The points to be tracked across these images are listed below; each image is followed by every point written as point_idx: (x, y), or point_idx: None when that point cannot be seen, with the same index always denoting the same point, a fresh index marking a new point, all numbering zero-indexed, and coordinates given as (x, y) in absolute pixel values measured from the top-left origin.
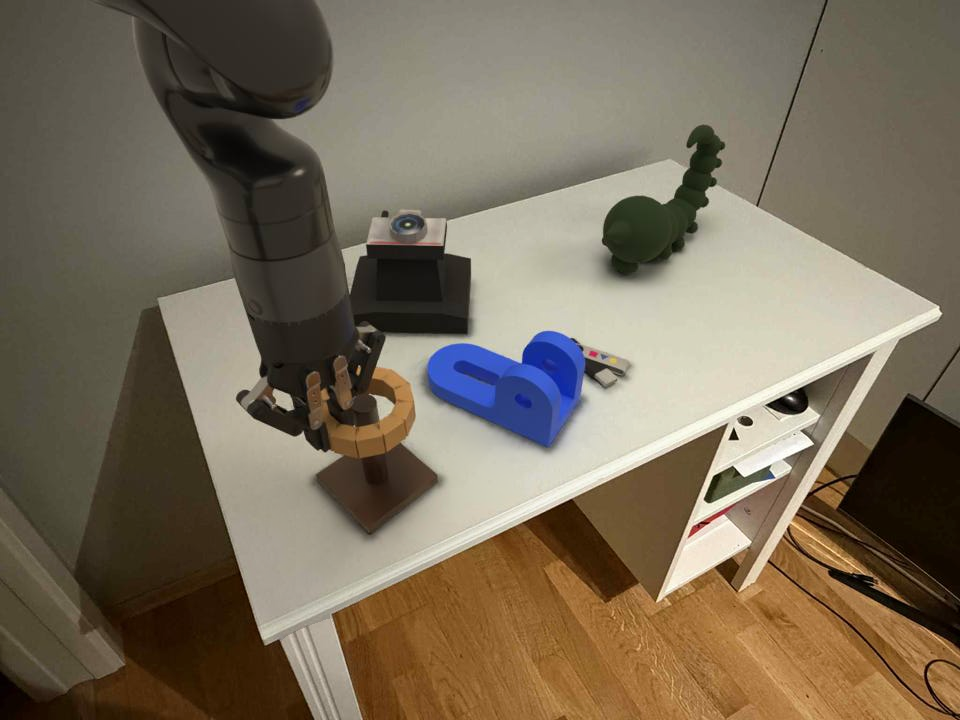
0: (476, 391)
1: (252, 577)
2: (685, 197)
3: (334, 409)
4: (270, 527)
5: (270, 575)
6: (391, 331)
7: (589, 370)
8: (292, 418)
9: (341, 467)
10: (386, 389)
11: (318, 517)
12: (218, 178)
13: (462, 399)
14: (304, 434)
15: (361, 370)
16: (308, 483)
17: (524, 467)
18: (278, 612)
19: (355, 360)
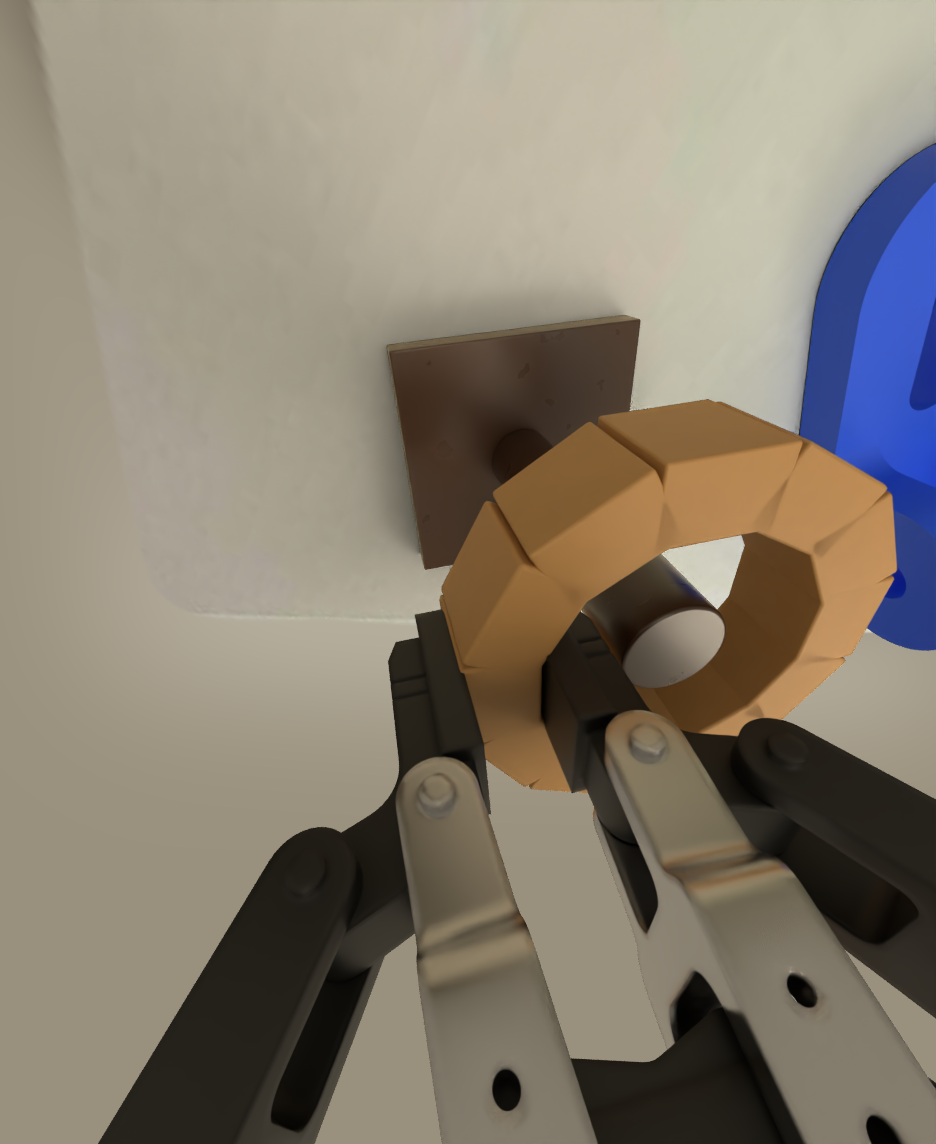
0: (876, 398)
1: (135, 513)
2: None
3: (568, 752)
4: (209, 407)
5: (182, 530)
6: None
7: None
8: (354, 965)
9: (464, 377)
10: (781, 595)
11: (341, 455)
12: None
13: (835, 386)
14: (391, 691)
15: (850, 940)
16: (360, 332)
17: (723, 576)
18: (184, 605)
19: (922, 939)
